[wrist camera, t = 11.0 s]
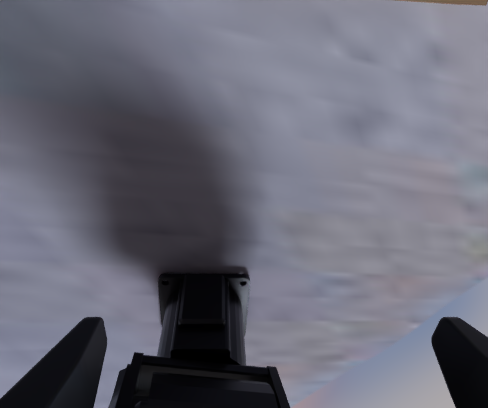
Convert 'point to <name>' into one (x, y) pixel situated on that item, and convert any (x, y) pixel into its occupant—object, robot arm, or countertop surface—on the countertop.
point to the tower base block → (453, 1)
